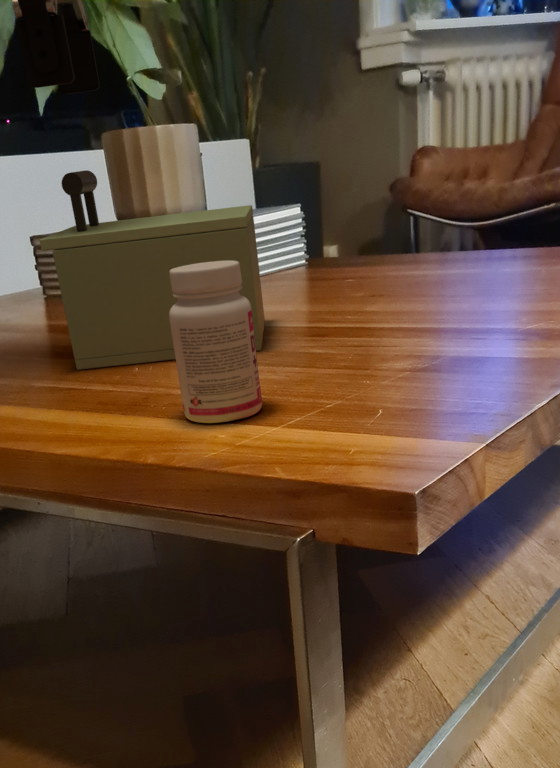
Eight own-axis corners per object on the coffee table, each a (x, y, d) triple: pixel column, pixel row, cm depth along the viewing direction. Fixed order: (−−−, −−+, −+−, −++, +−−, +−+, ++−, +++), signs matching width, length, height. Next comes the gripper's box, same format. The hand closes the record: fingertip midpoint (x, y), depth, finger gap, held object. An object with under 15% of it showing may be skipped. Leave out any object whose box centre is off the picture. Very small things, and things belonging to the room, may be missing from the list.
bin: (76, 370, 72) (51, 250, 68) (105, 339, 83) (85, 235, 79) (261, 350, 71) (247, 228, 67) (264, 322, 82) (253, 215, 78)
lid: (41, 251, 68) (25, 178, 66) (76, 235, 79) (63, 172, 77) (247, 227, 67) (238, 152, 65) (253, 215, 78) (246, 151, 76)
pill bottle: (278, 411, 54) (261, 260, 50) (207, 429, 52) (184, 274, 48) (239, 398, 58) (220, 257, 54) (171, 415, 56) (148, 270, 52)
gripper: (-8, -161, 69) (45, 100, 76) (-93, -248, 53) (-15, 90, 61) (90, -176, 68) (133, 88, 76) (33, -268, 53) (95, 74, 61)
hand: (67, 88), depth 69 cm, fingers open, 9 cm apart
